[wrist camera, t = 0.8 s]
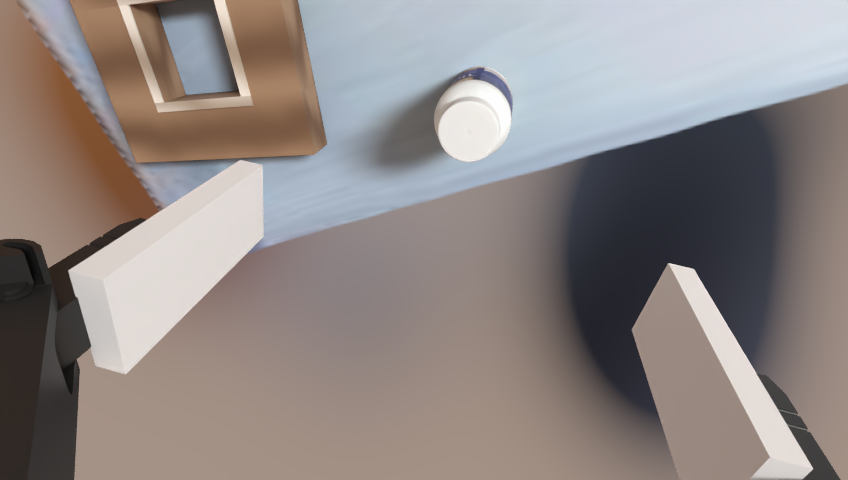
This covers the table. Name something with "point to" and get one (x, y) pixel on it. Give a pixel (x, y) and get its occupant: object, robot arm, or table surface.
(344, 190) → the table surface
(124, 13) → the board
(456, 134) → the pill bottle
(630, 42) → the table surface
